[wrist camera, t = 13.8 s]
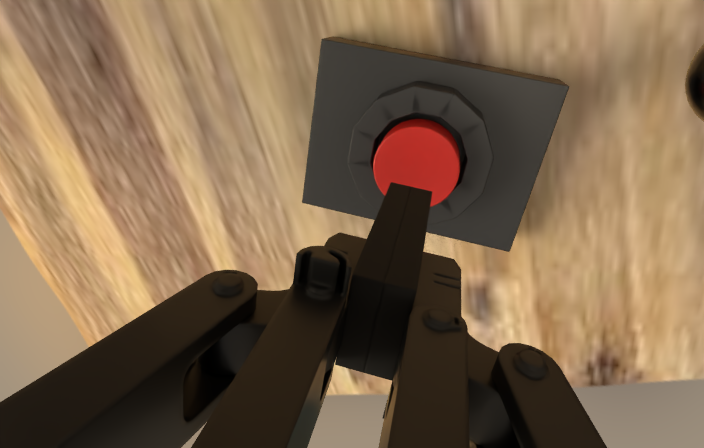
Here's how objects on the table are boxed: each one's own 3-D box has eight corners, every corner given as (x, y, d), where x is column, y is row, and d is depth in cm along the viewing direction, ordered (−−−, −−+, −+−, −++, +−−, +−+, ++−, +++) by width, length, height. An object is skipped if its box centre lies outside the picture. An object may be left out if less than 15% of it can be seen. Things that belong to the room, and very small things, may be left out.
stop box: (312, 189, 29) (291, 215, 25) (332, 36, 25) (311, 40, 21) (506, 234, 27) (513, 268, 24) (560, 79, 23) (578, 92, 20)
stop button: (372, 187, 24) (365, 199, 22) (386, 110, 22) (381, 118, 21) (448, 204, 23) (447, 218, 22) (469, 127, 22) (470, 136, 20)
